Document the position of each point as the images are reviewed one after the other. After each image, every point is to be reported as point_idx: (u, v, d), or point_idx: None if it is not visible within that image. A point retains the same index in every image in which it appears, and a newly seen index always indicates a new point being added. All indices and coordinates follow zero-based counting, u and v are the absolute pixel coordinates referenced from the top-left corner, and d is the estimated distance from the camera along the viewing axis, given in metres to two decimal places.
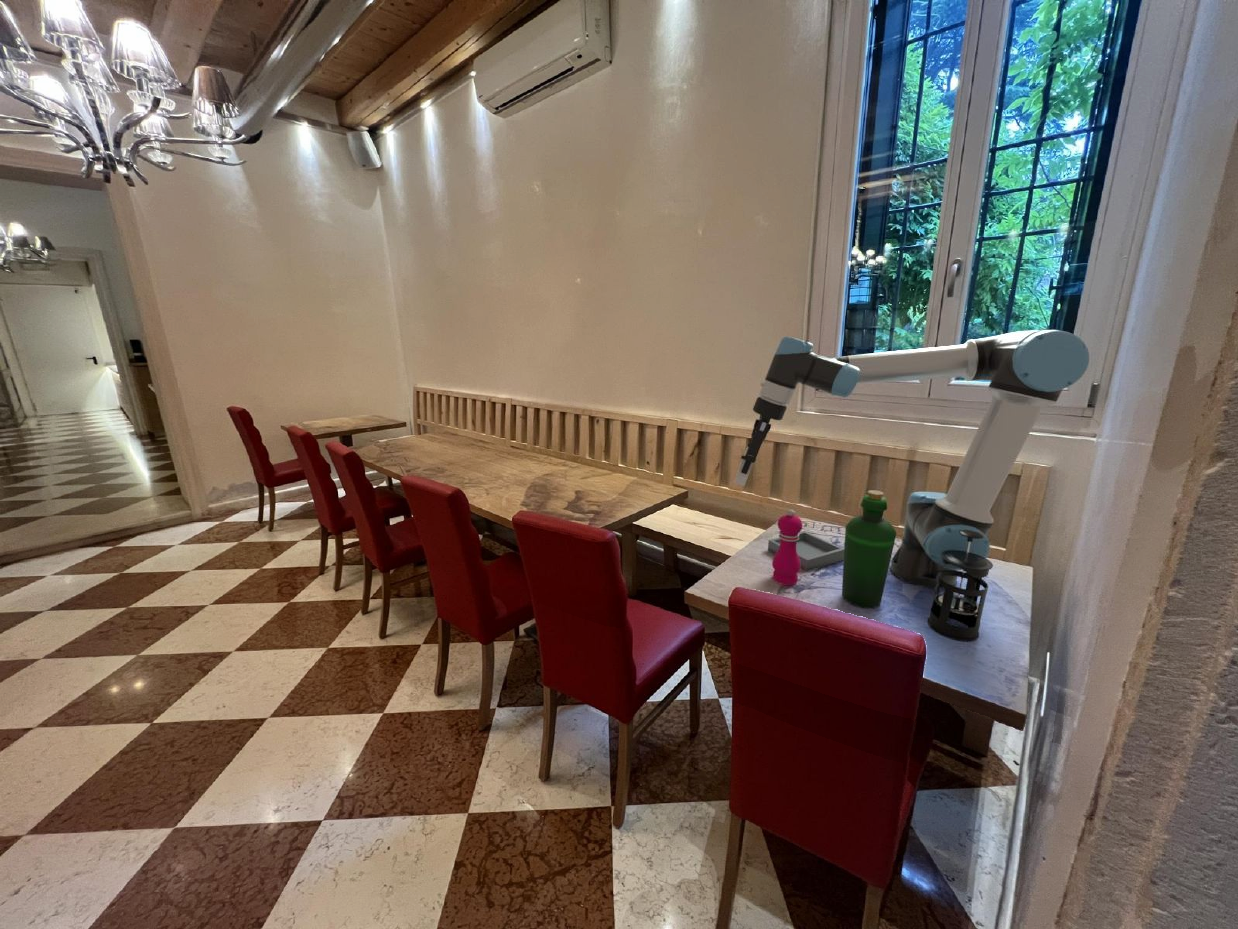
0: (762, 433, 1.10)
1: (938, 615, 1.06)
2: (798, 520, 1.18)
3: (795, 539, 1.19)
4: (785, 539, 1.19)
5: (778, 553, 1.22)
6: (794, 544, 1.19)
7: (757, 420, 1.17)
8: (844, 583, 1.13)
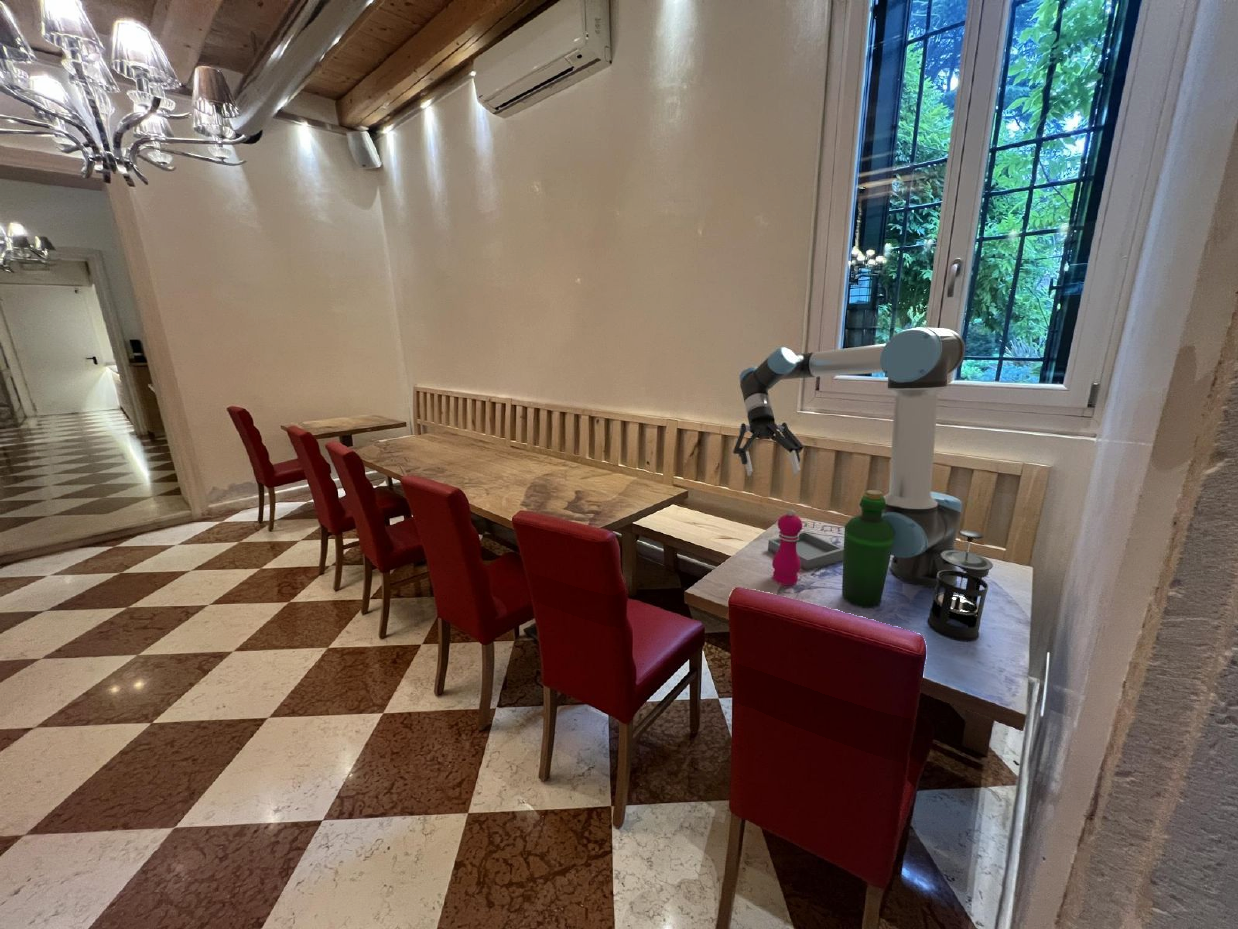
0: None
1: (938, 615, 1.06)
2: (798, 520, 1.18)
3: (795, 539, 1.19)
4: (785, 539, 1.19)
5: (778, 553, 1.22)
6: (794, 544, 1.19)
7: None
8: (844, 583, 1.13)
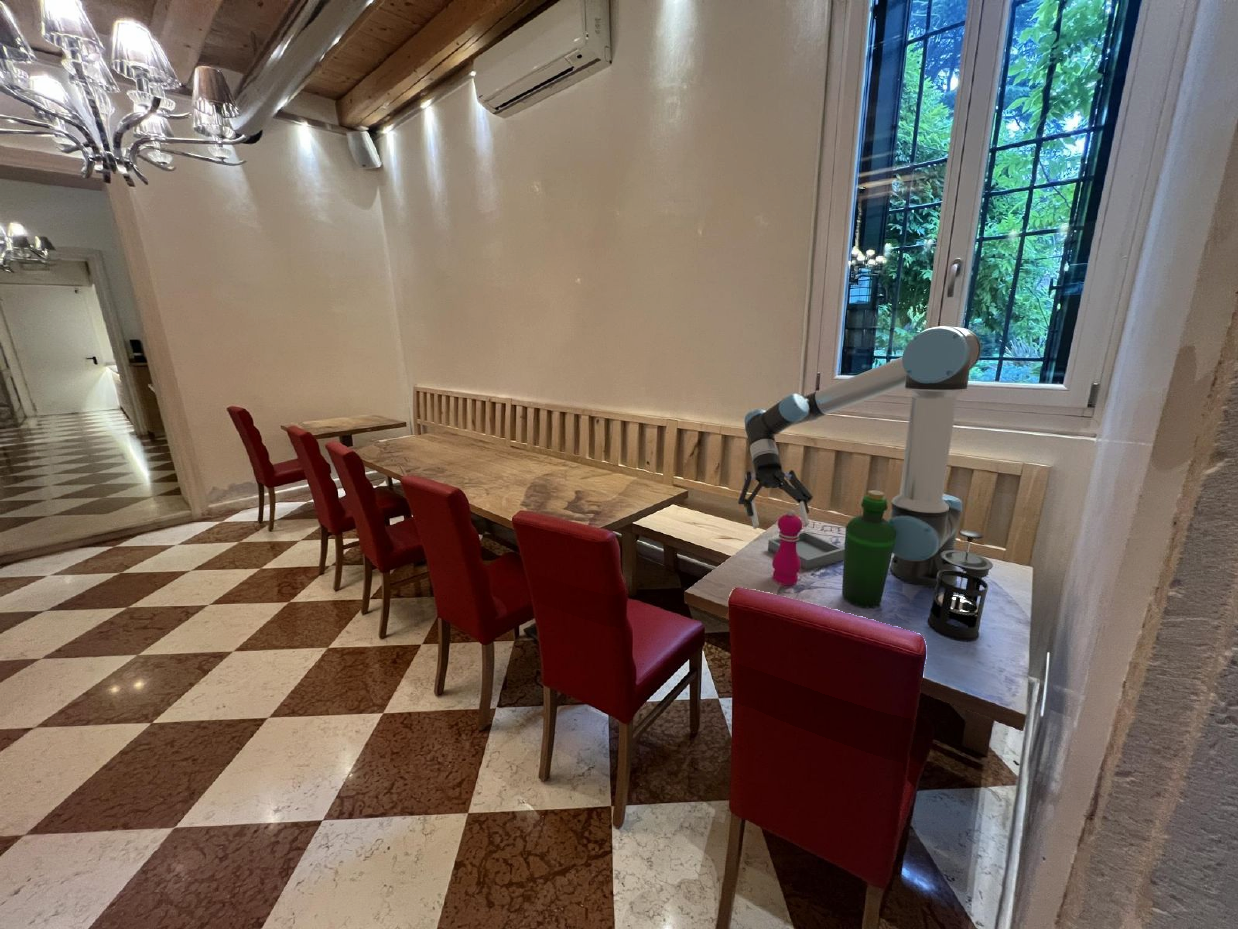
0: None
1: (938, 615, 1.06)
2: (798, 520, 1.18)
3: (795, 539, 1.19)
4: (785, 539, 1.19)
5: (778, 553, 1.22)
6: (794, 544, 1.19)
7: None
8: (844, 583, 1.13)
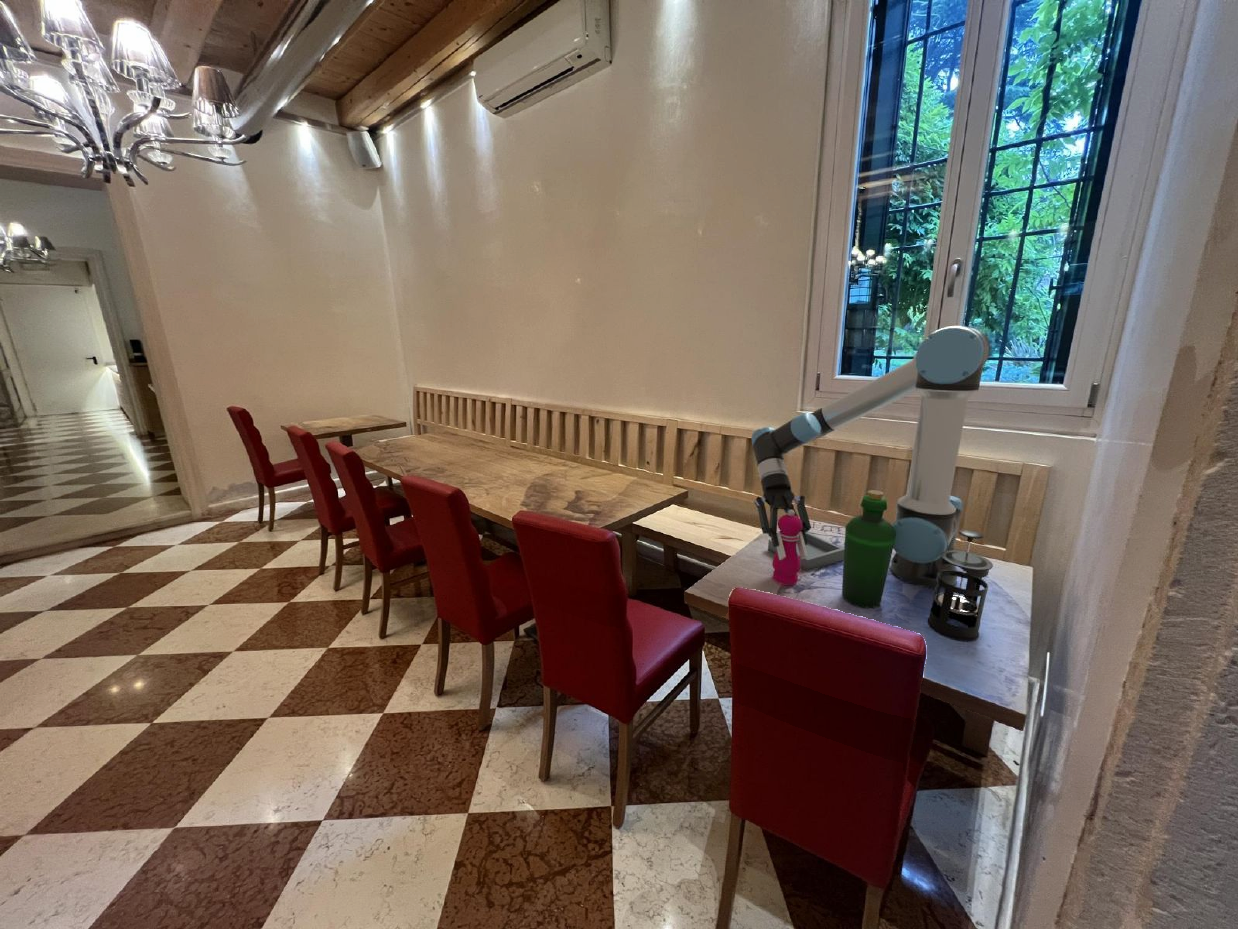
0: (759, 506, 1.25)
1: (938, 615, 1.06)
2: (798, 520, 1.18)
3: (795, 539, 1.19)
4: (785, 539, 1.19)
5: None
6: (794, 544, 1.19)
7: None
8: (844, 583, 1.13)
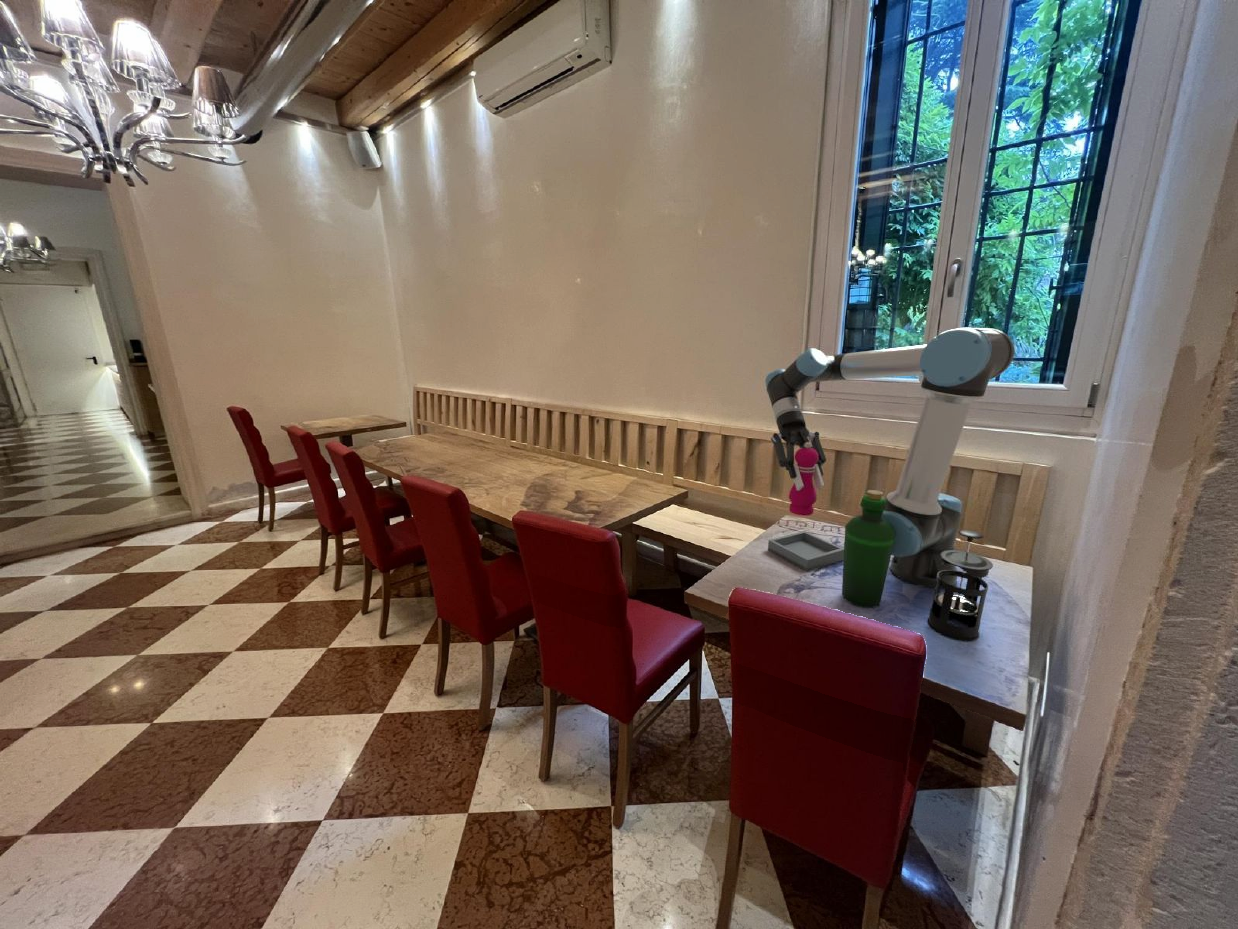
0: (776, 442, 1.30)
1: (938, 615, 1.06)
2: (815, 451, 1.23)
3: (812, 470, 1.24)
4: (802, 470, 1.24)
5: (795, 485, 1.27)
6: (811, 475, 1.25)
7: None
8: (844, 583, 1.13)
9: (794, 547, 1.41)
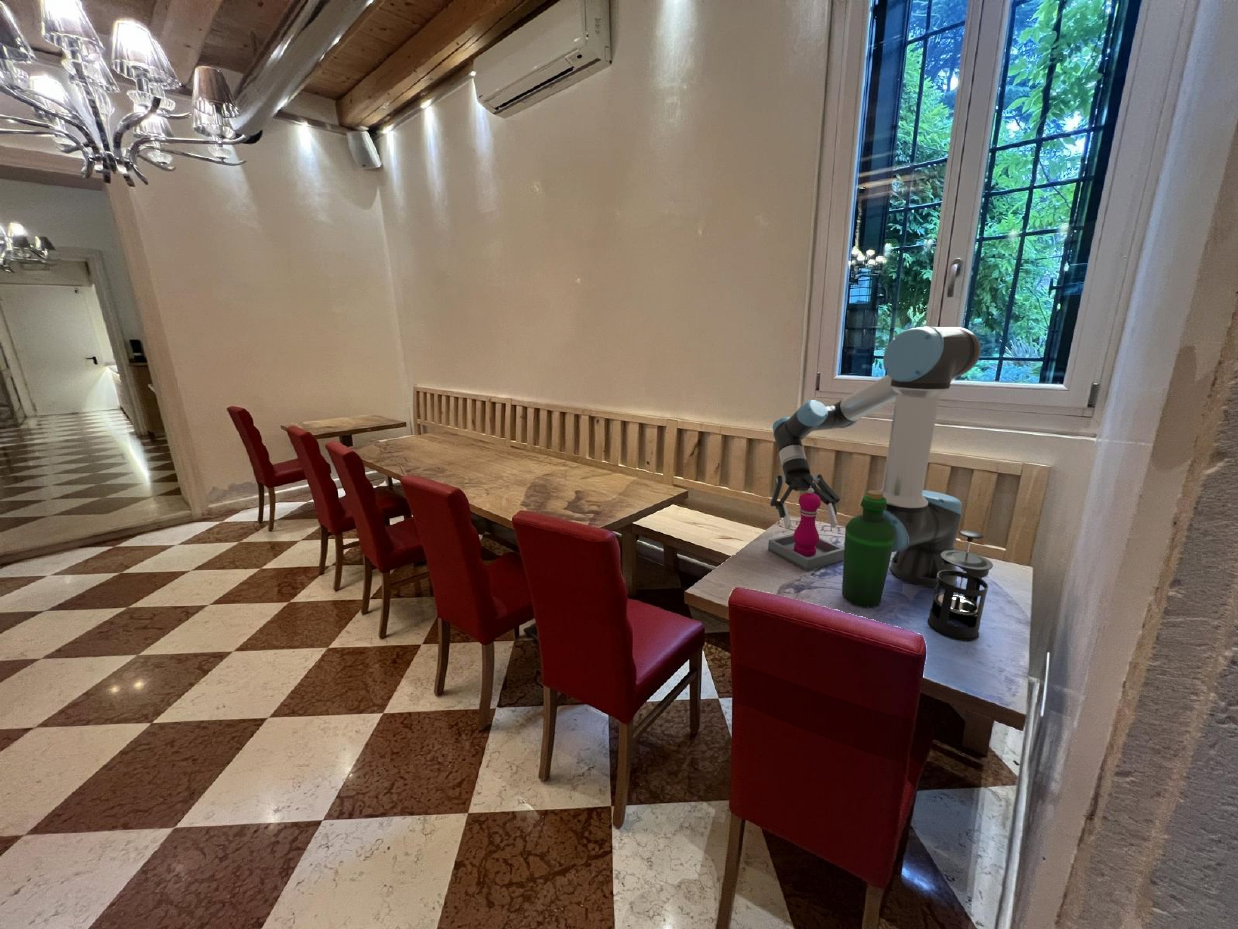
0: (777, 483, 1.39)
1: (938, 615, 1.06)
2: (817, 497, 1.31)
3: (814, 514, 1.32)
4: (805, 514, 1.33)
5: (799, 527, 1.35)
6: (813, 519, 1.33)
7: None
8: (844, 583, 1.13)
9: None
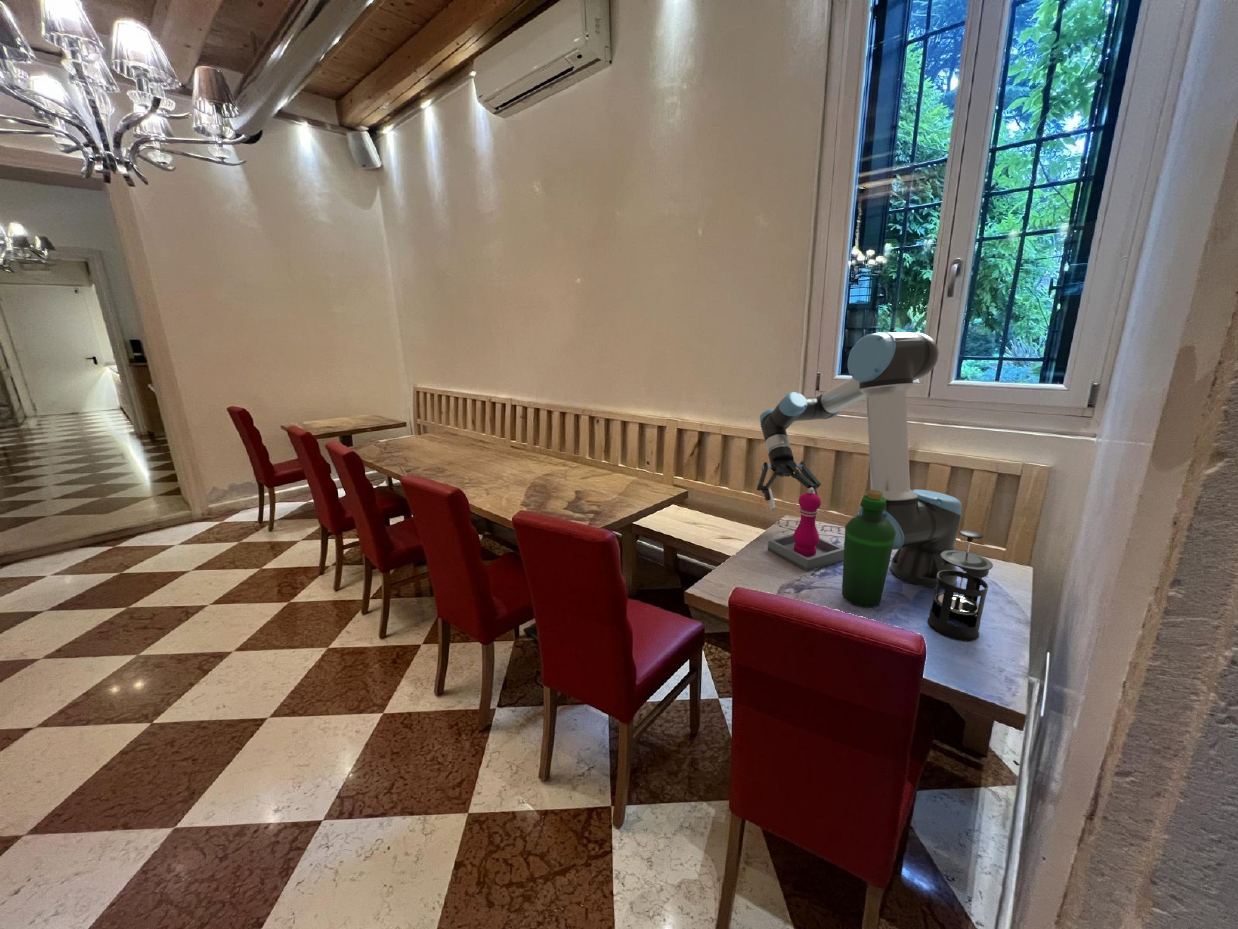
0: None
1: (938, 615, 1.06)
2: (817, 497, 1.31)
3: (814, 514, 1.32)
4: (805, 514, 1.33)
5: (799, 527, 1.35)
6: (813, 519, 1.33)
7: None
8: (844, 583, 1.13)
9: None
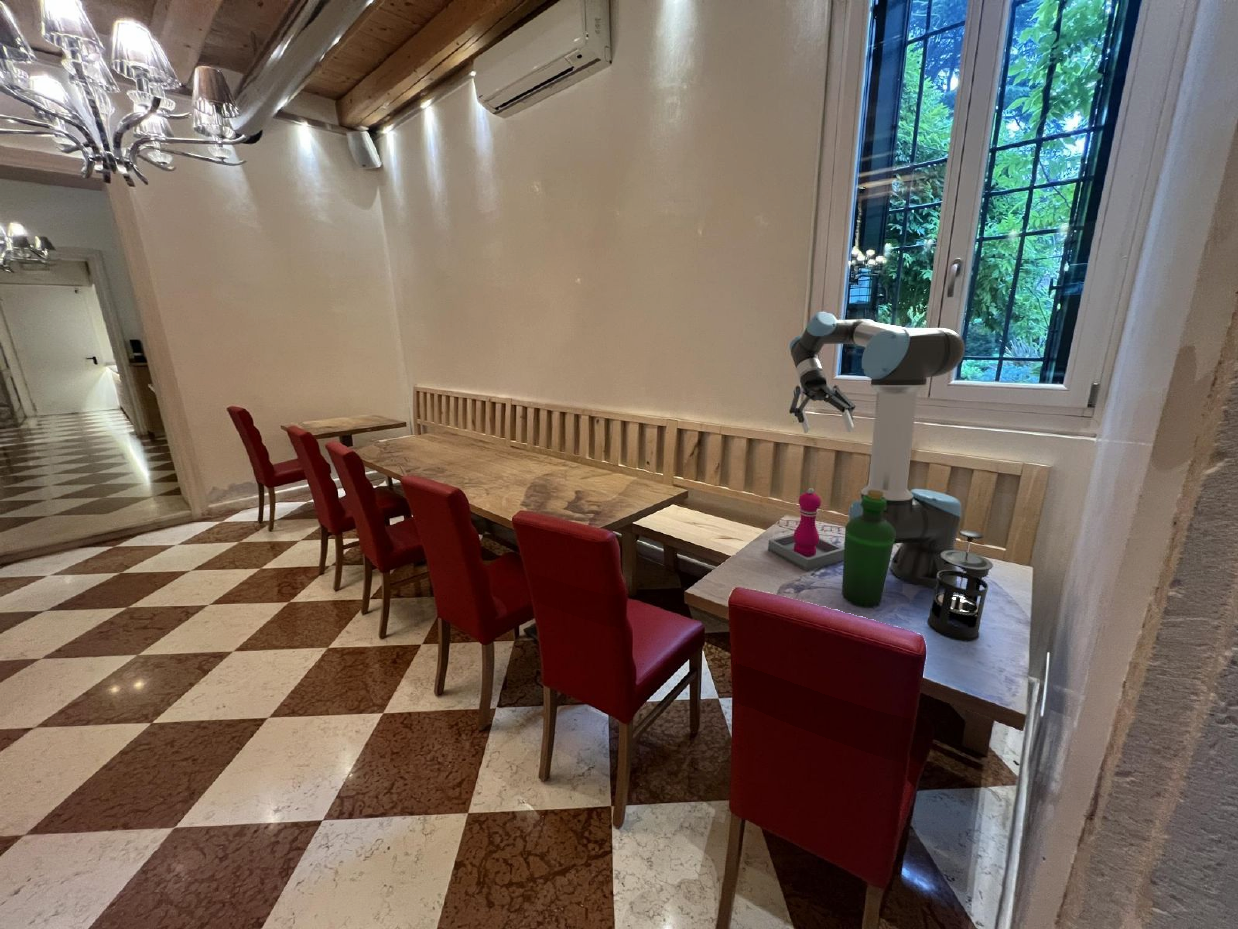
0: (796, 393, 1.46)
1: (938, 615, 1.06)
2: (817, 497, 1.31)
3: (814, 514, 1.32)
4: (805, 514, 1.33)
5: (799, 527, 1.35)
6: (813, 519, 1.33)
7: None
8: (844, 583, 1.13)
9: None
